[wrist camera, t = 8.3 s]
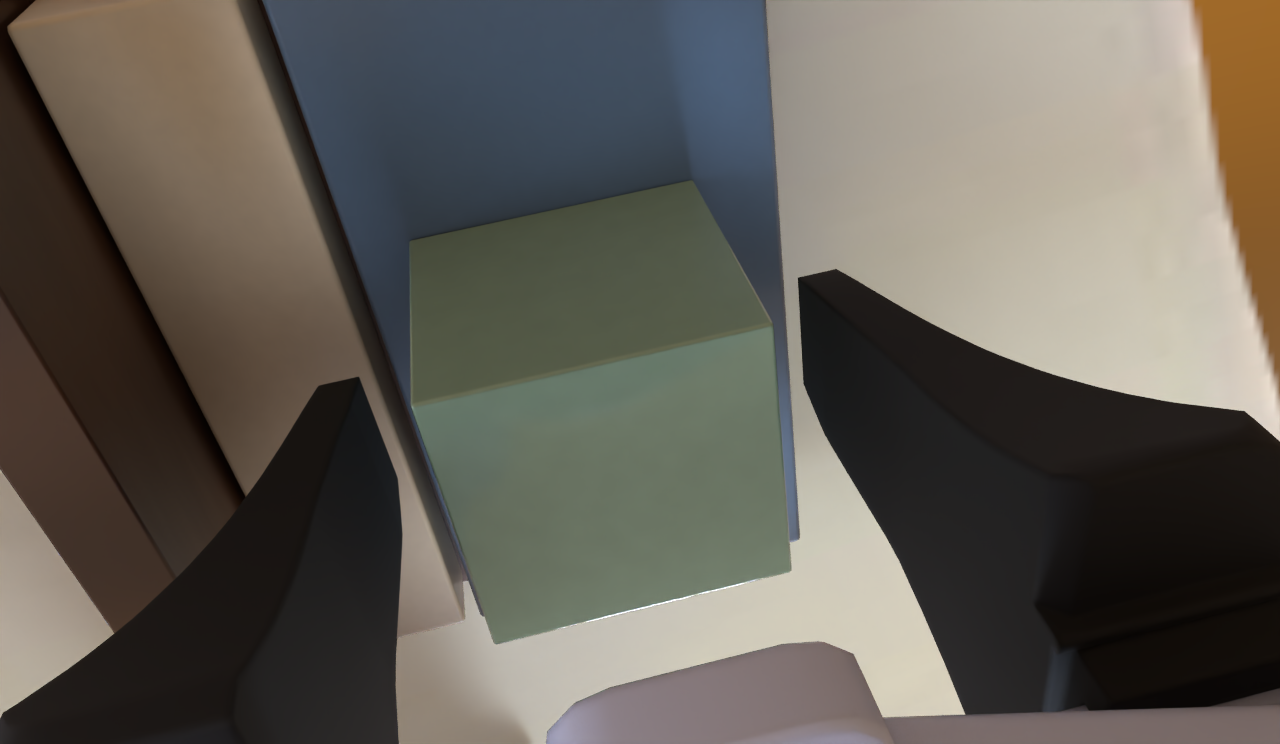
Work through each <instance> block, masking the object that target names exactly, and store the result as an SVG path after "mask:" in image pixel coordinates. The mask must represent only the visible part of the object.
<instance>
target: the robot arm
mask: <svg viewBox="0 0 1280 744" xmlns="http://www.w3.org/2000/svg"><path fill="white" fill-rule="evenodd" d="M798 288H799V307H800V325H801V344H802V362H803V380H804V386H805V388H806V391H807V393H808V396H809V398H810V401H811V403H812V405H813V408H814V410H815V413H816V415H817V417H818V420H819V422H820V424H821V427H822V429H823V431H824V433H825V436H826V437H827V439H828V441H829V442H830V444H831V446H832V448H833V449H834V451H835V453H836V454H837V456H838V458H839V459H840V461H841V463H842V464H843V466H844V468H845V469H846V471H847V473H848V475H849V476H850V478H851V479H852V481H853V483H854V484H855V486H856V488H857V489H858V491H859V493H860V494H861V496H862V498H863V499H864V501H865V503H866V504H867V506H868V508H869V509H870V511H871V513H872V514H873V516H874V517H875V519H876V521H877V522H878V524H879V526H880V527H881V529H882V531H883V532H884V534H885V536H886V537H887V539H888V541H889V543H890V545H891V546H892V548H893V550H894V552H895V554H896V556H897V558H898V559H899V561H900V563H901V566H902V568H903V570H904V572H905V574H906V577H907V579H908V581H909V583H910V585H911V588H912V590H913V592H914V594H915V596H916V599H917V601H918V603H919V605H920V607H921V610H922V612H923V614H924V616H925V619H926V621H927V623H928V626H929V628H930V630H931V633H932V635H933V637H934V640H935V642H936V644H937V647H938V649H939V651H940V653H941V656H942V658H943V660H944V663H945V665H946V668H947V670H948V672H949V675H950V677H951V680H952V682H953V685H954V687H955V690H956V692H957V695H958V697H959V700H960V702H961V705H962V707H963V709H964V712H965V714H966V715H941V716H910V717H882V715H881V713H880V710H879V708H878V706H877V704H876V702H875V699H874V697H873V695H872V693H871V691H870V689H869V686H868V684H867V682H866V680H865V678H864V675H863V673H862V671H861V669H860V667H859V665H858V663H857V661H856V659H855V657H854V654H852V653H850V652H847V651H845V650H842V649H840V648H837V647H835V646H832V645H830V644H827V643H825V642H818V641H817V642H804V643H790V644H781V645H777V646H773V647H769V648H765V649H761V650H757V651H753V652H749V653H745V654H741V655H737V656H733V657H729V658H725V659H721V660H717V661H713V662H709V663H705V664H701V665H697V666H693V667H689V668H685V669H681V670H677V671H673V672H669V673H665V674H661V675H658V676H654V677H650V678H646V679H642V680H638V681H634V682H630V683H626V684H622V685H618V686H614V687H610V688H608V689H605V690H603V691H601V692H598V693H596V694H594V695H592V696H589V697H587V698H585V699H582V700H580V701H578V702H576V703H574V704H573V705H572V706H571V707H570V708H569V709H568V710H567V711H566V712H565V713H564V714H563V715H562V716H561V718H560V719H559V720H558V721H557V722H556V723H555V724H554V725H553V726H552V727H551V728H550V729H549V730H548V731H547V740H546V744H1280V441H1278V440H1277V439H1276V438H1275V437H1274V436H1273V435H1272V434H1270V433H1269V432H1268V431H1267V430H1266V429H1265V428H1264V427H1263V426H1261V425H1260V424H1259V423H1258V422H1257V421H1256V420H1255V419H1253V418H1252V417H1251V416H1250V415H1248V414H1247V413H1246V412H1245V411H1237V410H1229V409H1221V408H1213V407H1205V406H1197V405H1188V404H1180V403H1173V402H1167V401H1161V400H1156V399H1151V398H1146V397H1140V396H1135V395H1130V394H1125V393H1120V392H1116V391H1112V390H1107V389H1103V388H1099V387H1095V386H1091V385H1088V384H1084V383H1081V382H1077V381H1073V380H1070V379H1066V378H1063V377H1059V376H1056V375H1053V374H1050V373H1046V372H1043V371H1040V370H1037V369H1034V368H1032V367H1029V366H1026V365H1024V364H1021V363H1018V362H1016V361H1013V360H1010V359H1007V358H1005V357H1002V356H999V355H997V354H995V353H992V352H990V351H987V350H985V349H983V348H981V347H978V346H976V345H974V344H972V343H970V342H968V341H966V340H963V339H961V338H959V337H957V336H955V335H953V334H951V333H949V332H947V331H945V330H943V329H941V328H939V327H937V326H935V325H933V324H931V323H929V322H927V321H926V320H924V319H922V318H920V317H918V316H916V315H915V314H913V313H911V312H909V311H907V310H906V309H904V308H902V307H900V306H899V305H897V304H895V303H893V302H892V301H890V300H888V299H887V298H885V297H883V296H882V295H880V294H878V293H876V292H875V291H873V290H871V289H870V288H868V287H866V286H865V285H863V284H861V283H860V282H858V281H856V280H855V279H853V278H851V277H849V276H848V275H846V274H844V273H842V272H840V271H839V270H837V269H835V270H831V271H826V272H822V273H817V274H813V275H808V276H804V277H799V278H798ZM402 539H403V533H402V519H401V506H400V496H399V485H398V477H397V475H396V472H395V469H394V467H393V464H392V462H391V459H390V456H389V454H388V451H387V448H386V446H385V443H384V441H383V438H382V435H381V433H380V430H379V428H378V425H377V422H376V420H375V417H374V414H373V412H372V409H371V407H370V404H369V401H368V399H367V396H366V394H365V391H364V388H363V386H362V383H361V380H360V378H359V377H354V378H350V379H345V380H341V381H337V382H332V383H328V384H323V385H319V386H318V387H317V388H316V390H315V391H314V393H313V395H312V396H311V398H310V399H309V401H308V402H307V404H306V405H305V407H304V409H303V410H302V412H301V414H300V415H299V417H298V419H297V420H296V422H295V423H294V425H293V427H292V428H291V430H290V432H289V433H288V435H287V436H286V438H285V440H284V441H283V443H282V445H281V446H280V448H279V449H278V451H277V452H276V454H275V455H274V457H273V458H272V460H271V461H270V463H269V465H268V466H267V468H266V469H265V471H264V472H263V474H262V475H261V477H260V478H259V480H258V481H257V482H256V484H255V485H254V487H253V488H252V489H251V491H250V492H249V493H248V495H247V496H246V497H245V499H244V500H243V501H242V503H241V504H240V506H239V507H238V508H237V510H236V511H235V512H234V514H233V515H232V516H231V518H230V519H229V520H228V521H227V523H226V524H225V525H224V526H223V527H222V529H221V530H220V531H219V532H218V533H217V535H216V536H215V537H214V538H213V539H212V540H211V542H210V543H209V544H208V545H207V546H206V547H205V548H204V549H203V550H202V551H201V553H200V554H199V555H198V556H197V557H196V558H195V559H194V560H193V561H192V562H191V563H190V565H189V566H188V567H187V568H186V569H185V570H184V571H183V572H182V573H181V574H180V575H179V576H178V577H176V578H175V579H174V580H173V581H172V582H171V583H170V584H169V585H168V586H167V587H166V588H165V589H164V590H163V591H162V592H161V593H160V594H159V595H157V596H156V597H155V598H154V599H153V600H152V601H151V602H150V603H149V604H148V605H147V606H146V607H145V608H144V609H143V610H142V611H141V612H139V613H138V614H137V615H136V616H135V617H134V618H133V619H131V620H130V621H129V622H128V623H127V624H125V625H124V626H123V627H122V628H121V629H119V630H118V631H117V632H116V633H115V634H113V635H112V636H111V637H110V638H108V639H107V640H106V641H105V642H103V643H102V644H101V645H99V646H98V647H97V648H96V649H94V650H93V651H92V652H90V653H89V654H88V655H87V656H85V657H84V658H83V659H81V660H80V661H79V662H77V663H76V664H75V665H73V666H72V667H70V668H69V669H68V670H66V671H65V672H63V673H62V674H60V675H59V676H57V677H56V678H55V679H53V680H52V681H50V682H49V683H47V684H46V685H44V686H43V687H41V688H40V689H38V690H37V691H36V692H34V693H33V694H31V695H30V696H28V697H27V698H25V699H24V700H22V701H21V702H19V703H18V704H16V705H15V706H13V707H12V708H10V709H9V710H7V711H5V712H4V713H3V714H2V716H1V719H0V744H399V740H398V722H397V705H396V686H395V681H396V646H397V629H398V612H399V595H400V579H401V560H402Z"/></svg>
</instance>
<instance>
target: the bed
mask: <svg viewBox="0 0 1280 744" xmlns="http://www.w3.org/2000/svg"><path fill="white" fill-rule="evenodd" d="M689 180H693V181H694V183H695V185H696V186H697V188H698V190H699V192H700V193H701V195H702V197H703V199H704V201H705V202H706V204H707V206H708V208H709V210H710V211H711V213H712V215H713V217H714V219H715V220H716V222H717V224H718V226H719V227H720V229H721V231H722V233H723V235H724V236H725V238H726V240H727V242H728V244H729V245H730V247H731V249H732V251H733V252H734V254H735V256H736V258H737V260H738V261H739V263H740V265H741V267H742V269H743V270H744V272H745V274H746V276H747V277H748V279H749V281H750V283H751V285H752V286H753V288H754V290H755V292H756V294H757V295H758V297H759V299H760V301H761V302H762V304H763V306H764V308H765V310H766V311H767V313H768V315H769V317H770V319H771V320H772V322H773V324H774V336H775V350H776V363H777V377H778V390H779V404H780V418H781V431H782V445H783V458H784V472H785V486H786V499H787V513H788V527H789V540H790V542H794V541H797V540H799V538H800V529H799V514H798V498H797V483H796V467H795V452H794V436H793V420H792V405H791V389H790V374H789V358H788V343H787V327H786V311H785V296H784V280H783V265H782V249H781V234H780V218H779V203H778V187H777V171H776V156H775V140H774V125H773V109H772V94H771V78H770V62H769V47H768V31H767V16H766V0H0V469H1V471H2V472H3V474H4V475H5V476H6V478H7V479H8V481H9V482H10V484H11V485H12V487H13V488H14V489H15V491H16V492H17V494H18V495H19V497H20V498H21V499H22V501H23V502H24V504H25V505H26V507H27V508H28V510H29V511H30V512H31V514H32V515H33V517H34V518H35V520H36V521H37V522H38V524H39V525H40V527H41V528H42V530H43V531H44V533H45V534H46V535H47V537H48V538H49V540H50V541H51V543H52V544H53V545H54V547H55V548H56V550H57V551H58V553H59V554H60V556H61V557H62V558H63V560H64V561H65V563H66V564H67V566H68V567H69V568H70V570H71V571H72V573H73V574H74V576H75V577H76V579H77V580H78V581H79V583H80V584H81V586H82V587H83V589H84V590H85V592H86V593H87V594H88V596H89V597H90V599H91V600H92V602H93V603H94V604H95V606H96V607H97V609H98V610H99V612H100V613H101V615H102V616H103V617H104V619H105V620H106V622H107V623H108V625H109V626H110V627H111V629H112V630H113V632H114V633H116V632H117V631H118V630H119V629H121V628H122V627H123V626H124V625H125V624H127V623H128V622H129V621H130V620H131V619H133V618H134V617H135V616H136V615H137V614H138V613H139V612H141V611H142V610H143V609H144V608H145V607H146V606H147V605H148V604H149V603H150V602H151V601H152V600H153V599H154V598H155V597H156V596H157V595H159V594H160V593H161V592H162V591H163V590H164V589H165V588H166V587H167V586H168V585H169V584H170V583H171V582H172V581H173V580H174V579H175V578H176V577H178V576H179V575H180V574H181V573H182V572H183V571H184V570H185V569H186V568H187V567H188V566H189V565H190V563H191V562H192V561H193V560H194V559H195V558H196V557H197V556H198V555H199V554H200V553H201V551H202V550H203V549H204V548H205V547H206V546H207V545H208V544H209V543H210V542H211V540H212V539H213V538H214V537H215V536H216V535H217V533H218V532H219V531H220V530H221V529H222V527H223V526H224V525H225V524H226V523H227V521H228V520H229V519H230V518H231V516H232V515H233V514H234V512H235V511H236V510H237V508H238V507H239V506H240V504H241V503H242V501H243V500H244V499H245V497H246V496H247V495H248V493H249V492H250V491H251V489H252V488H253V487H254V485H255V484H256V482H257V481H258V480H259V478H260V477H261V475H262V474H263V472H264V471H265V469H266V468H267V466H268V465H269V463H270V461H271V460H272V458H273V457H274V455H275V454H276V452H277V451H278V449H279V448H280V446H281V445H282V443H283V441H284V440H285V438H286V436H287V435H288V433H289V432H290V430H291V428H292V427H293V425H294V423H295V422H296V420H297V419H298V417H299V415H300V414H301V412H302V410H303V409H304V407H305V405H306V404H307V402H308V401H309V399H310V398H311V396H312V395H313V393H314V391H315V390H316V388H317V387H318V386H319V385H323V384H328V383H332V382H337V381H341V380H345V379H350V378H354V377H359V378H360V380H361V383H362V386H363V388H364V391H365V394H366V396H367V399H368V401H369V404H370V407H371V409H372V412H373V414H374V417H375V420H376V422H377V425H378V428H379V430H380V433H381V435H382V438H383V441H384V443H385V446H386V448H387V451H388V454H389V456H390V459H391V462H392V464H393V467H394V469H395V472H396V475H397V477H398V485H399V496H400V506H401V519H402V533H403V539H402V560H401V579H400V595H399V612H398V629H397V638H400V637H404V636H408V635H413V634H417V633H421V632H425V631H429V630H433V629H437V628H441V627H445V626H449V625H454V624H458V623H461V622H463V621H464V619H465V608H464V592H463V582H464V581H469V583H470V586H471V589H472V592H473V595H474V598H475V600H476V603H477V606H478V609H479V612H480V614H481V615H482V616H483V617H484V614H483V611H482V608H481V605H480V603H479V600H478V597H477V594H476V591H475V588H474V585H473V583H472V580H471V577H470V574H469V571H468V568H467V566H466V563H465V560H464V557H463V554H462V551H461V549H460V546H459V543H458V540H457V537H456V534H455V532H454V529H453V526H452V523H451V520H450V517H449V515H448V512H447V509H446V506H445V503H444V500H443V498H442V495H441V492H440V489H439V486H438V483H437V481H436V478H435V475H434V472H433V469H432V466H431V464H430V461H429V458H428V455H427V452H426V449H425V447H424V444H423V441H422V438H421V435H420V432H419V429H418V427H417V424H416V421H415V418H414V415H413V412H412V410H411V404H410V297H409V242H410V241H411V240H416V239H420V238H425V237H429V236H434V235H439V234H443V233H448V232H453V231H457V230H462V229H467V228H471V227H476V226H480V225H485V224H490V223H494V222H499V221H504V220H508V219H513V218H517V217H522V216H527V215H531V214H536V213H541V212H545V211H550V210H555V209H559V208H564V207H568V206H573V205H578V204H582V203H587V202H592V201H596V200H601V199H606V198H610V197H615V196H619V195H624V194H629V193H633V192H638V191H643V190H647V189H652V188H656V187H661V186H666V185H670V184H675V183H680V182H684V181H689Z"/></svg>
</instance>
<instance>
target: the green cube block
mask: <svg viewBox="0 0 1280 744" xmlns="http://www.w3.org/2000/svg"><path fill="white" fill-rule="evenodd" d="M409 297H410V404H411V410H412V412H413V415H414V418H415V421H416V424H417V427H418V429H419V432H420V435H421V438H422V441H423V444H424V447H425V449H426V452H427V455H428V458H429V461H430V464H431V466H432V469H433V472H434V475H435V478H436V481H437V483H438V486H439V489H440V492H441V495H442V498H443V500H444V503H445V506H446V509H447V512H448V515H449V517H450V520H451V523H452V526H453V529H454V532H455V534H456V537H457V540H458V543H459V546H460V549H461V551H462V554H463V557H464V560H465V563H466V566H467V568H468V571H469V574H470V577H471V580H472V583H473V585H474V588H475V591H476V594H477V597H478V600H479V603H480V605H481V608H482V611H483V614H484V617H485V620H486V622H487V625H488V628H489V631H490V634H491V637H492V639H493V642H494V643H495V644H501V643H505V642H509V641H513V640H517V639H521V638H525V637H529V636H533V635H537V634H541V633H545V632H549V631H553V630H557V629H561V628H565V627H570V626H574V625H578V624H582V623H586V622H590V621H594V620H598V619H602V618H606V617H610V616H614V615H618V614H622V613H626V612H630V611H635V610H639V609H643V608H647V607H651V606H655V605H659V604H663V603H667V602H671V601H675V600H679V599H683V598H687V597H691V596H695V595H700V594H704V593H708V592H712V591H716V590H720V589H724V588H728V587H732V586H736V585H740V584H744V583H748V582H752V581H756V580H760V579H764V578H769V577H773V576H777V575H781V574H785V573H789V572H791V568H792V567H791V554H790V540H789V527H788V513H787V499H786V486H785V472H784V458H783V445H782V431H781V418H780V404H779V390H778V377H777V363H776V350H775V336H774V324H773V322H772V320H771V319H770V317H769V315H768V313H767V311H766V310H765V308H764V306H763V304H762V302H761V301H760V299H759V297H758V295H757V294H756V292H755V290H754V288H753V286H752V285H751V283H750V281H749V279H748V277H747V276H746V274H745V272H744V270H743V269H742V267H741V265H740V263H739V261H738V260H737V258H736V256H735V254H734V252H733V251H732V249H731V247H730V245H729V244H728V242H727V240H726V238H725V236H724V235H723V233H722V231H721V229H720V227H719V226H718V224H717V222H716V220H715V219H714V217H713V215H712V213H711V211H710V210H709V208H708V206H707V204H706V202H705V201H704V199H703V197H702V195H701V193H700V192H699V190H698V188H697V186H696V185H695V183H694V181H693V180H689V181H684V182H680V183H675V184H670V185H666V186H661V187H656V188H652V189H647V190H643V191H638V192H633V193H629V194H624V195H619V196H615V197H610V198H606V199H601V200H596V201H592V202H587V203H582V204H578V205H573V206H568V207H564V208H559V209H555V210H550V211H545V212H541V213H536V214H531V215H527V216H522V217H517V218H513V219H508V220H504V221H499V222H494V223H490V224H485V225H480V226H476V227H471V228H467V229H462V230H457V231H453V232H448V233H443V234H439V235H434V236H429V237H425V238H420V239H416V240H411V241H410V242H409Z"/></svg>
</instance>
